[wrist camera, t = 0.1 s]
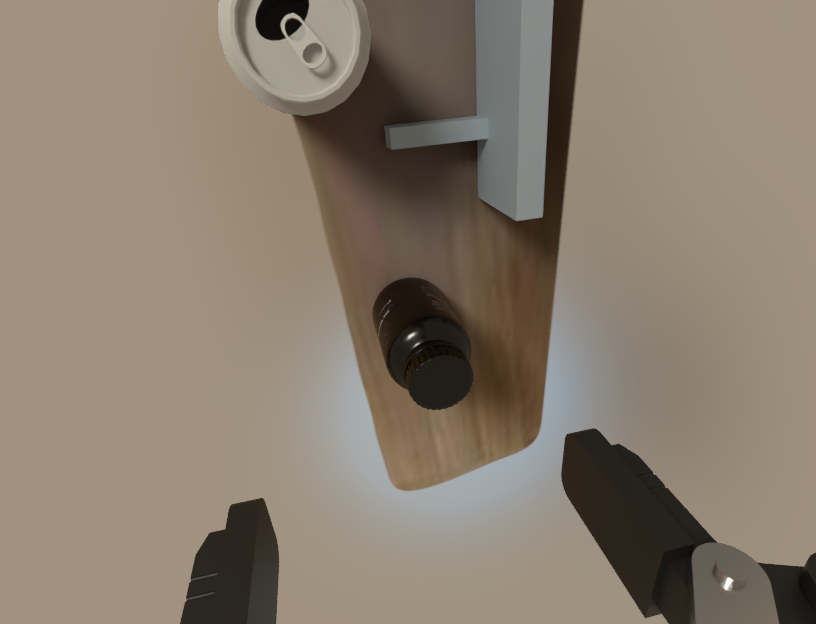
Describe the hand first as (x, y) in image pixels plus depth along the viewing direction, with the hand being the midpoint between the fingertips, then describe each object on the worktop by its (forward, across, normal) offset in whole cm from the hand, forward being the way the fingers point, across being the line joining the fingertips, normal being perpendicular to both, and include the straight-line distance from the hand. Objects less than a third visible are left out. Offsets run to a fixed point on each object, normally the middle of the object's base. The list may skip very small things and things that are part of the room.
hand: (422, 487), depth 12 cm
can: (+30, +1, -12) cm, 32 cm away
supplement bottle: (+29, -5, +10) cm, 31 cm away
